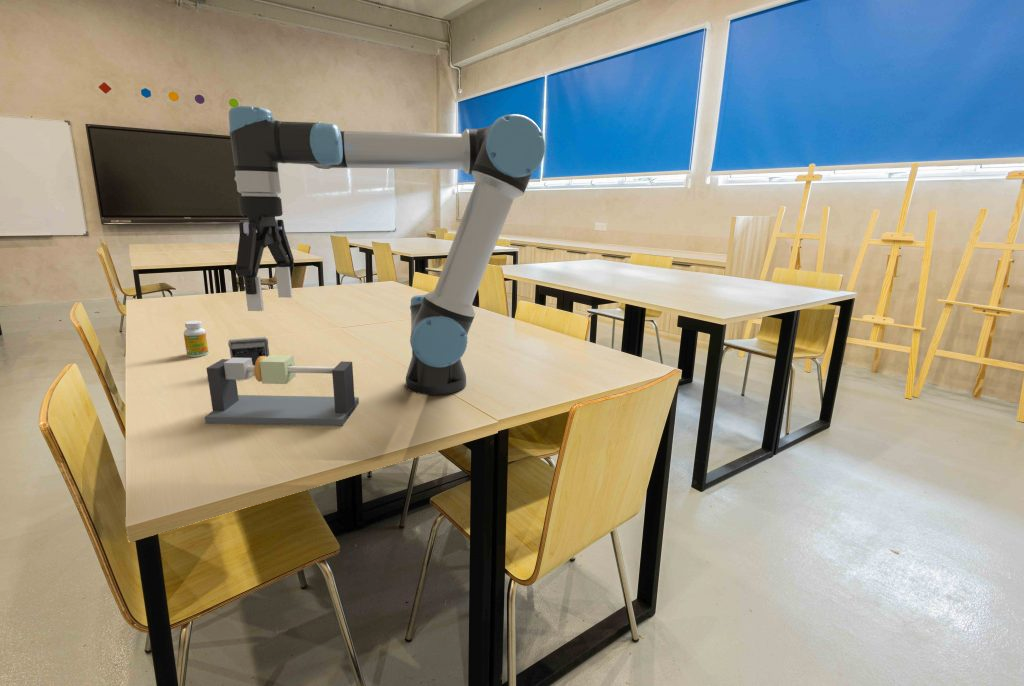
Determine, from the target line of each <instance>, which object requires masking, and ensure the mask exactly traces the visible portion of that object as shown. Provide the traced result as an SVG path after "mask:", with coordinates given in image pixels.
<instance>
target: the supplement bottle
mask: <svg viewBox="0 0 1024 686" xmlns="http://www.w3.org/2000/svg"><path fill="white" fill-rule="evenodd" d="M202 325H203V323H202V321H201V320H189V321H186V322H184V327H185V328H186V329H184V331H183V337H184V338H183V339H184V343H185V344H184V345H185V351H186V356H187V357H191V358H199V357H200V358H201V357H204V356H206V355H208V354H209V347H208V340H207V332H206V330H205V329H204V328H203V326H202Z"/></svg>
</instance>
